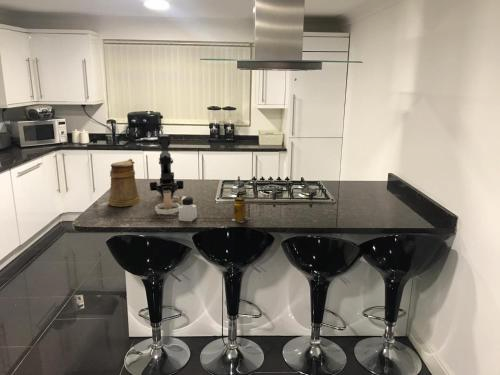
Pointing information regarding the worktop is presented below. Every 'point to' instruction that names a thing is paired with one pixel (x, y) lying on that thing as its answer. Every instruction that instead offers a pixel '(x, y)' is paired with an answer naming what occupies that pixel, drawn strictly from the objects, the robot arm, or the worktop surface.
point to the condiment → (240, 210)
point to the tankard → (123, 184)
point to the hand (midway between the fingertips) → (167, 198)
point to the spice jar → (167, 199)
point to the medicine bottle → (187, 210)
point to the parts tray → (177, 200)
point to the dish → (164, 211)
